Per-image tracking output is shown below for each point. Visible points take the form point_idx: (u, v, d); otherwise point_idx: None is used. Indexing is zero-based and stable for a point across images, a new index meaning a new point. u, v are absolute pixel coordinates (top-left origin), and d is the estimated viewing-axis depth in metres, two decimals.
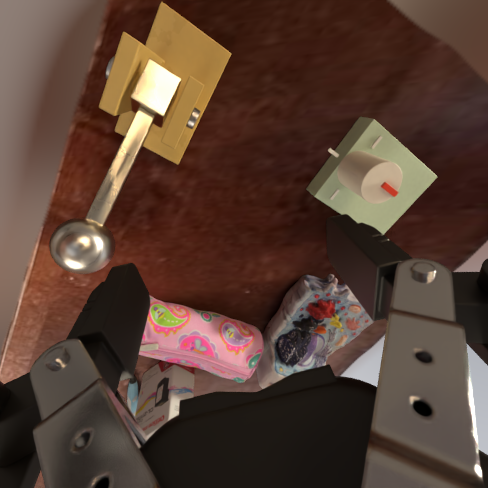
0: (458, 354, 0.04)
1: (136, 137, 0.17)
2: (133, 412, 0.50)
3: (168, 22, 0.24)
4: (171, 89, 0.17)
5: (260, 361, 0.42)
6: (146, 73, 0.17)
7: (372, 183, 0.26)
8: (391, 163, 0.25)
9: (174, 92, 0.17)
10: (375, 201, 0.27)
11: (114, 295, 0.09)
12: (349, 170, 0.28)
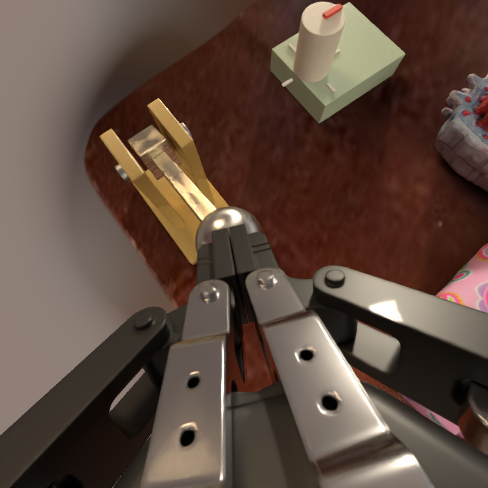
0: (325, 337, 0.05)
1: (169, 166, 0.18)
2: None
3: None
4: (153, 131, 0.20)
5: None
6: (134, 143, 0.19)
7: (319, 25, 0.26)
8: (305, 9, 0.26)
9: (156, 130, 0.20)
10: (341, 24, 0.26)
11: (229, 250, 0.10)
12: (305, 60, 0.29)
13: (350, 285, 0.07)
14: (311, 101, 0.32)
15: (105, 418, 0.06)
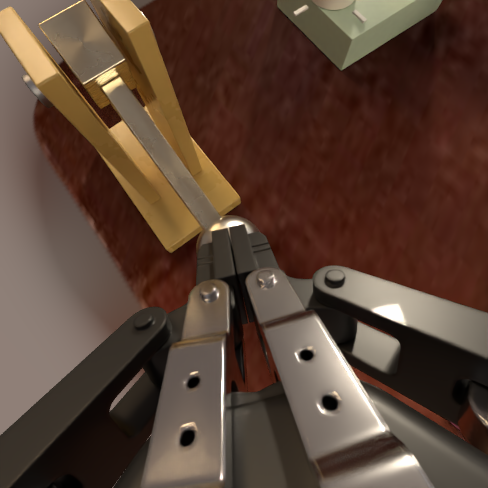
0: (325, 337, 0.05)
1: (138, 116, 0.13)
2: None
3: None
4: (93, 23, 0.11)
5: None
6: (58, 43, 0.11)
7: None
8: None
9: (99, 22, 0.11)
10: None
11: (229, 250, 0.10)
12: None
13: (350, 285, 0.07)
14: (332, 37, 0.24)
15: (105, 418, 0.06)
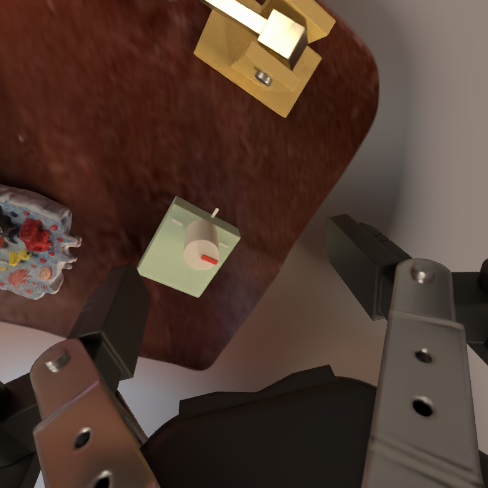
0: (458, 354, 0.04)
1: (245, 17, 0.20)
2: None
3: (308, 62, 0.29)
4: (278, 49, 0.19)
5: None
6: (292, 24, 0.19)
7: (192, 255, 0.31)
8: (203, 240, 0.30)
9: (276, 52, 0.19)
10: (201, 268, 0.32)
11: (114, 295, 0.09)
12: None
13: None
14: (189, 207, 0.35)
15: None
